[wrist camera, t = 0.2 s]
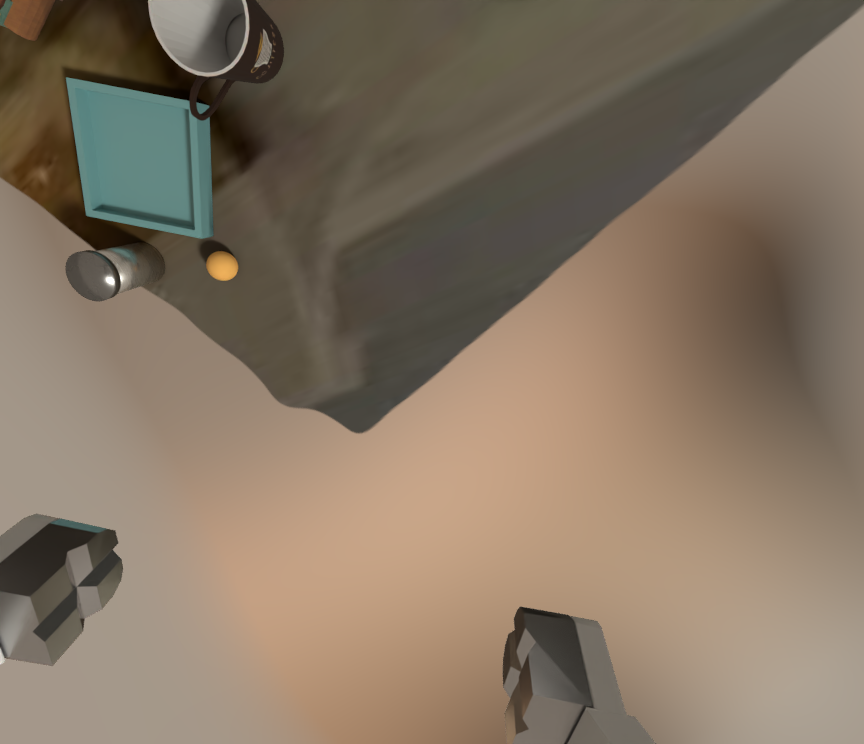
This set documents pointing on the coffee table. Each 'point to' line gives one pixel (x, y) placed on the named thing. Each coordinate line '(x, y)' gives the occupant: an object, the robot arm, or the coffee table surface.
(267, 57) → the coffee mug
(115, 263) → the cup
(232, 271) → the ball
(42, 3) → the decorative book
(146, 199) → the tray
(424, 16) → the coffee table surface
